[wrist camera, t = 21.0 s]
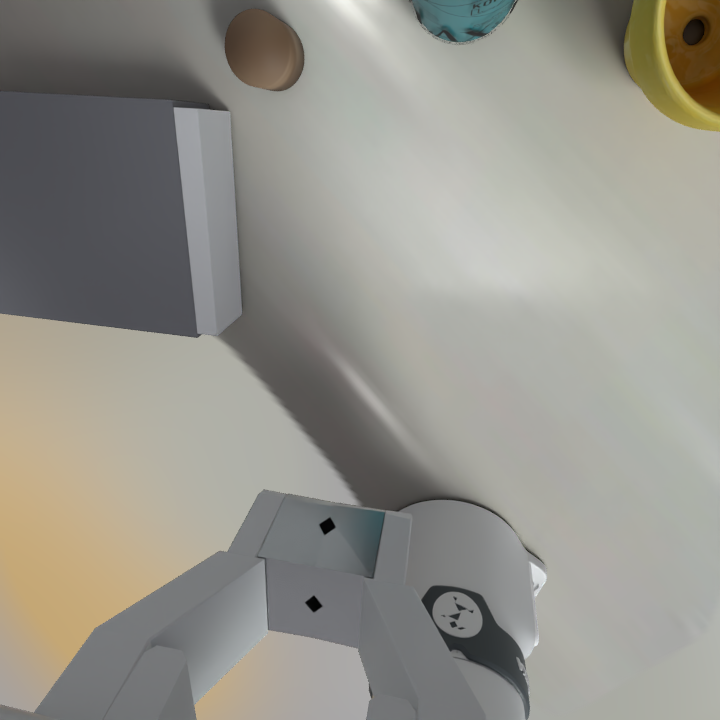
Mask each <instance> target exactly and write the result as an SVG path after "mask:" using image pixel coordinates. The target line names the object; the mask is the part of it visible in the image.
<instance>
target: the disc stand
mask: <svg viewBox="0 0 720 720" xmlns="http://www.w3.org/2000/svg"><path fill="white" fill-rule="evenodd" d="M225 53H226V58H227V61H228V64H229V66H230V68H231V70H232V71H233V73H234V74H235V75H236V76H237V77H238V78H239V79H240V80H241V81H242V82H244V83H245V84H248V85H250V86H253V87H258V88H262V89H267V90H271V91H283V90H286V89H288V88H290V87H291V86H293V85H294V84H295V83H296V82H297V80H298V79H299V77H300V75H301V73H302V70H303V66H304V50H303V46H302V43H301V40H300V38H299V37H298V35H297V34H296V32H295V31H294V30H293V29H292V28H291V27H290V26H288V25H287V24H285V23H283V22H282V21H280V20H279V19H277V18H276V17H274V16H273V15H271V14H269V13H268V12H266V11H264V10H260V9H248V10H245V11H242V12H241V13H239V14H238V15H237V16H236V17H235V18H234V19H233V20H232V22H231V23H230V25H229V27H228V29H227V32H226V37H225Z"/></svg>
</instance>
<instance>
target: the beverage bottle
mask: <svg viewBox="0 0 720 720" xmlns="http://www.w3.org/2000/svg"><path fill="white" fill-rule="evenodd" d="M517 1H518V0H517ZM517 1H516V2H515V0H412V2H413V5H414V8H415V11H416V14H417V19H418V20H419V22H420V23H421V24H422V23H423V25H424V26H425V27H426V28H427V29H428V30H429V32H430V33H432V34H433V35H435V36H437V37H439V38H441V39H444V40H447V41H451V42H466V41H471V40H474V39H477V38H480V37H482V36H484V35H486V34H488V33H489V32H490V31H491V30H493V29H494V28H495V27H496V26H497V25H498V24H499V23H501V22H502V20H503V19H504V18H505V16H506V15H507V14H508V12H509V11H510V9H511V8H512V9H511V11H510V13H511V12H512V10H514V7H515V6H516V3H517ZM410 2H411V1H410ZM514 2H515V3H514ZM512 6H513V7H512ZM508 16H509V15H508ZM415 17H416V16H415ZM507 18H508V17H507ZM421 26H422V25H421ZM425 27H422V28H425ZM425 30H426V29H425ZM495 30H496V29H495ZM426 31H427V30H426ZM428 34H429V33H428ZM491 34H492V32H491ZM488 35H489V34H488ZM435 36H434V37H435ZM486 36H487V35H486ZM432 37H433V36H432ZM484 37H485V36H484ZM482 38H483V37H482ZM435 39H436V38H435ZM437 40H438V38H437ZM447 41H445V42H447ZM451 42H449V43H451ZM472 42H473V41H472ZM449 43H448V44H449ZM466 43H468V42H466ZM456 44H457V43H456ZM456 44H455V45H456ZM469 44H470V43H469ZM458 45H464V44H460V43H459V44H458Z"/></svg>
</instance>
